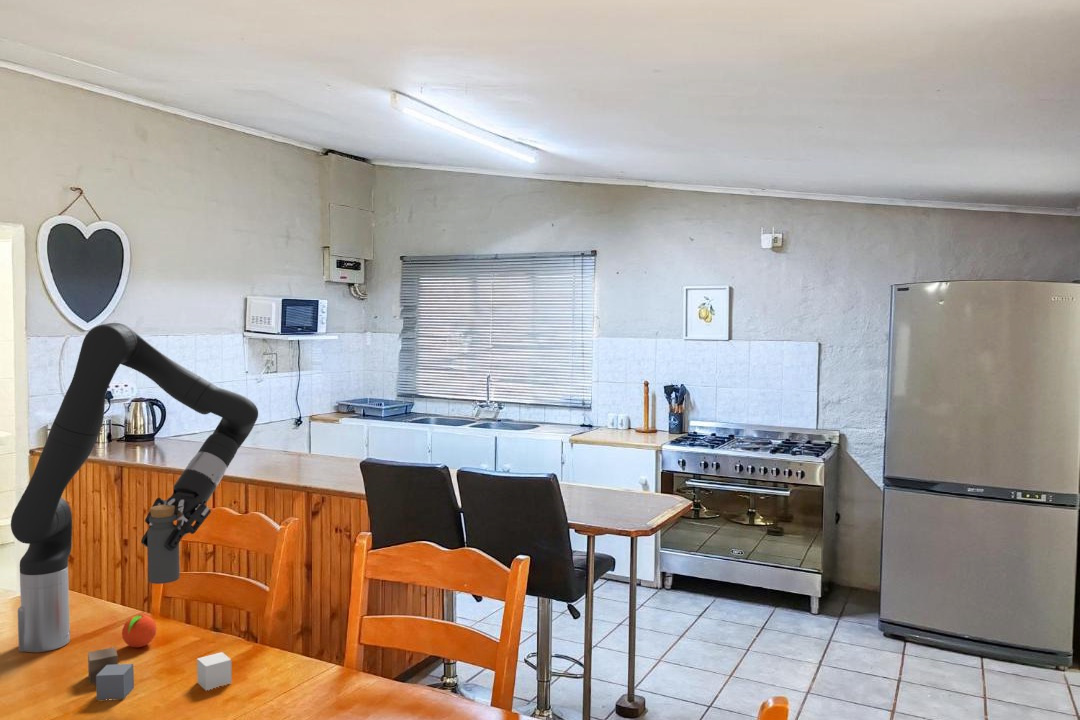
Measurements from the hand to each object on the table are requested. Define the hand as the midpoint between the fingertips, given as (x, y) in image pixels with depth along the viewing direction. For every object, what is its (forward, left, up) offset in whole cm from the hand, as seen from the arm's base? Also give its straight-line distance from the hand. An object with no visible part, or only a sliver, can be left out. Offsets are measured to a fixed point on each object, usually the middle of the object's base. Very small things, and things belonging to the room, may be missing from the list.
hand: (156, 546), depth 167 cm
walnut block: (-11, +3, -27) cm, 29 cm away
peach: (-7, +18, -27) cm, 34 cm away
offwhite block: (+11, -6, -27) cm, 30 cm away
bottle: (+1, +1, -7) cm, 8 cm away
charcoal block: (-7, -6, -27) cm, 29 cm away
